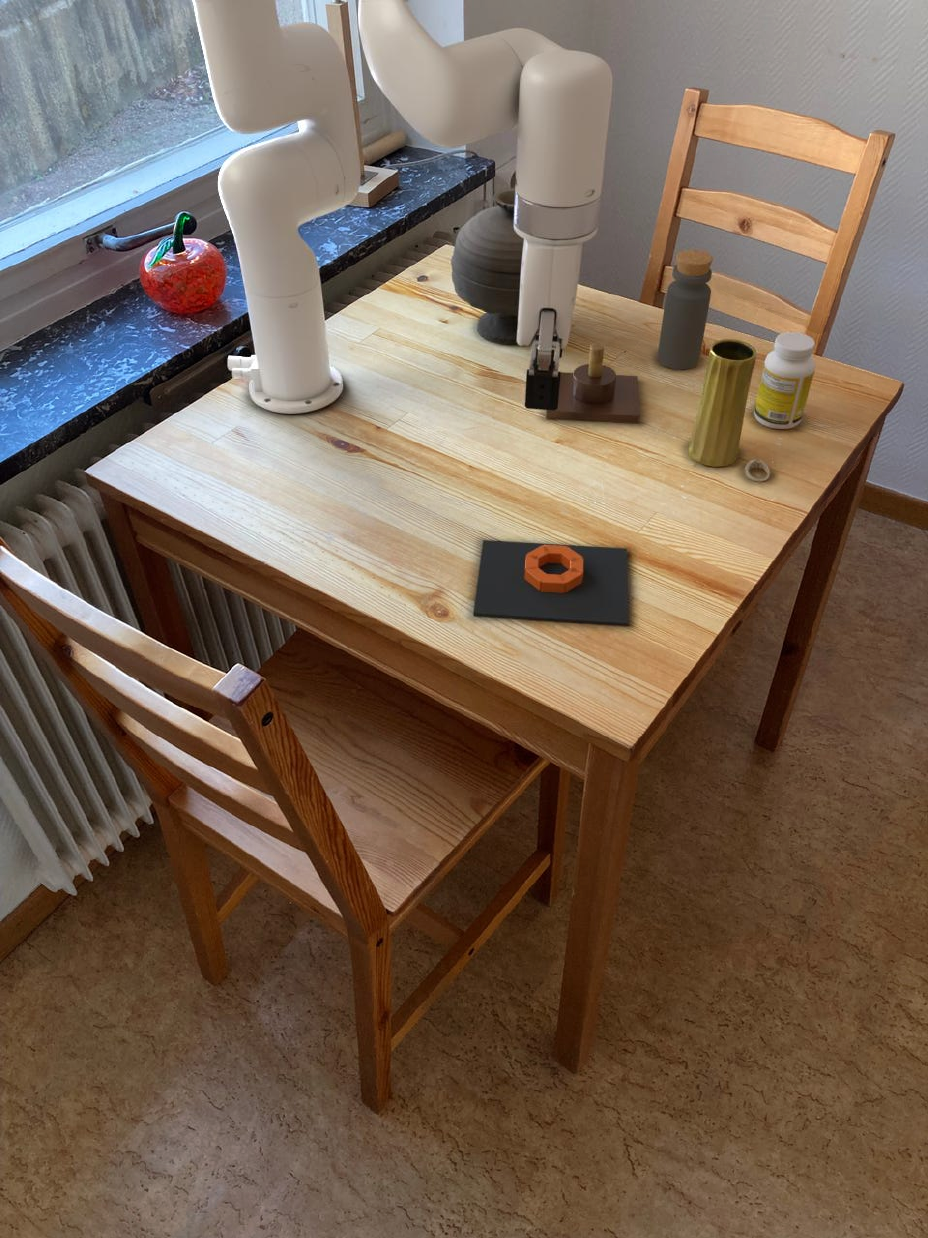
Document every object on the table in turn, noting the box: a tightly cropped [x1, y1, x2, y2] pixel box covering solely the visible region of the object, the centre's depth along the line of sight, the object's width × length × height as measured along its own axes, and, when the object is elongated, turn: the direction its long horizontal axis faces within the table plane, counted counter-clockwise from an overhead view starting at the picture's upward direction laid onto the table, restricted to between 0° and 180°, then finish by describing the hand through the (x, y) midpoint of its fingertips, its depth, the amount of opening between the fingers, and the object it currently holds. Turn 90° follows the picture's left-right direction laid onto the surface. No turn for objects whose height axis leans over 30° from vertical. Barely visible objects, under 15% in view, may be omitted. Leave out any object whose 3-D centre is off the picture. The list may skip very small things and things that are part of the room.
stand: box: [545, 342, 640, 424], centre depth 130 cm, size 12×10×8 cm
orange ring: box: [524, 545, 584, 593], centre depth 107 cm, size 6×6×1 cm
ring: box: [743, 458, 771, 483], centre depth 121 cm, size 2×3×3 cm
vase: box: [687, 338, 757, 468], centre depth 119 cm, size 6×6×14 cm
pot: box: [450, 187, 524, 346], centre depth 141 cm, size 18×18×20 cm
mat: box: [472, 539, 630, 627], centre depth 107 cm, size 16×12×1 cm
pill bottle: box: [753, 331, 816, 430], centre depth 126 cm, size 6×6×11 cm
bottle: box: [657, 249, 714, 371], centre depth 136 cm, size 6×6×15 cm
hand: (543, 381), depth 100 cm, fingers open, 9 cm apart
